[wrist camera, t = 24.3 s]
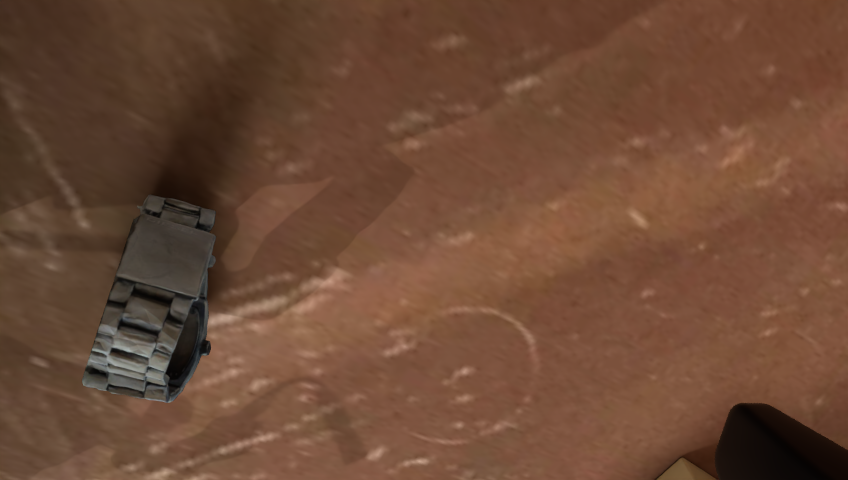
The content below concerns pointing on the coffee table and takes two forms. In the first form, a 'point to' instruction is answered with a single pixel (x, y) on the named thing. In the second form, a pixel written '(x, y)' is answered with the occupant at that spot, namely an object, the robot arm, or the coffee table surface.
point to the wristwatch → (156, 304)
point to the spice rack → (685, 472)
